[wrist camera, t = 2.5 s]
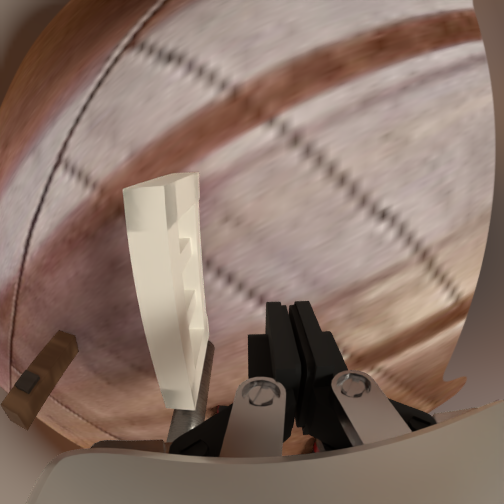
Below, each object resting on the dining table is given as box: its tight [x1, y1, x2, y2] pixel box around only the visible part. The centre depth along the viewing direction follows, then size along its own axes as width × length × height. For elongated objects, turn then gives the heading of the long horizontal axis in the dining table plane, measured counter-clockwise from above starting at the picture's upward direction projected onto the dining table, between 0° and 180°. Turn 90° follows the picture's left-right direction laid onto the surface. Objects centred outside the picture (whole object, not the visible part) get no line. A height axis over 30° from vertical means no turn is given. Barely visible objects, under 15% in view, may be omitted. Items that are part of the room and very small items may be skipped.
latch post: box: [1, 330, 79, 430], centre depth 20 cm, size 3×2×13 cm
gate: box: [123, 172, 209, 410], centre depth 18 cm, size 2×15×9 cm, turn 0°
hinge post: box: [167, 340, 214, 442], centre depth 20 cm, size 3×3×15 cm
